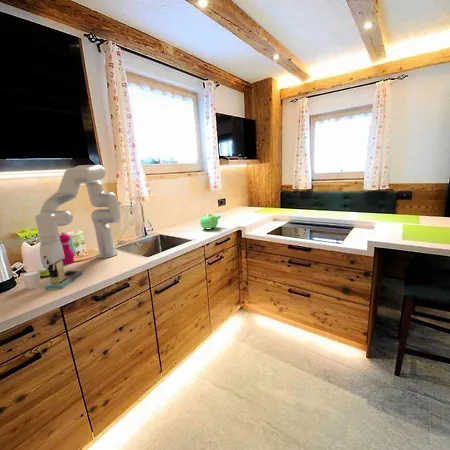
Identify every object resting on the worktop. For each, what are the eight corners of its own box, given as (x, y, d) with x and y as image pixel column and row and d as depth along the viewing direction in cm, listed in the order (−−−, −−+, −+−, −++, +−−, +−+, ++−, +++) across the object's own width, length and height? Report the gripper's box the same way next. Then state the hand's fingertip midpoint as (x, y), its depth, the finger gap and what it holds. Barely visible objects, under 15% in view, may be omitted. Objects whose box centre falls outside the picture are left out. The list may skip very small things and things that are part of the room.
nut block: (57, 279, 117) (53, 261, 115) (65, 279, 117) (61, 260, 115) (51, 283, 113) (47, 264, 111) (60, 283, 113) (56, 263, 111)
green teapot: (207, 226, 232) (206, 212, 229) (222, 227, 225) (221, 212, 222) (197, 230, 216) (196, 215, 213) (213, 232, 209) (212, 215, 206)
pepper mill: (77, 260, 150) (71, 230, 146) (72, 264, 143) (66, 232, 139) (65, 261, 149) (59, 231, 145) (59, 265, 142) (53, 233, 138)
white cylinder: (22, 288, 114) (18, 274, 112) (38, 282, 119) (35, 269, 118) (27, 291, 110) (24, 277, 109) (44, 285, 116) (41, 272, 114)
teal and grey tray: (67, 274, 128) (67, 271, 127) (82, 273, 128) (81, 270, 128) (45, 289, 111) (44, 285, 111) (62, 288, 112) (61, 284, 111)
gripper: (54, 235, 118) (60, 269, 122) (28, 244, 102) (36, 283, 106) (69, 234, 119) (75, 268, 122) (45, 243, 102) (53, 282, 106)
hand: (57, 274), depth 114 cm, fingers closed on nut block, 4 cm apart
